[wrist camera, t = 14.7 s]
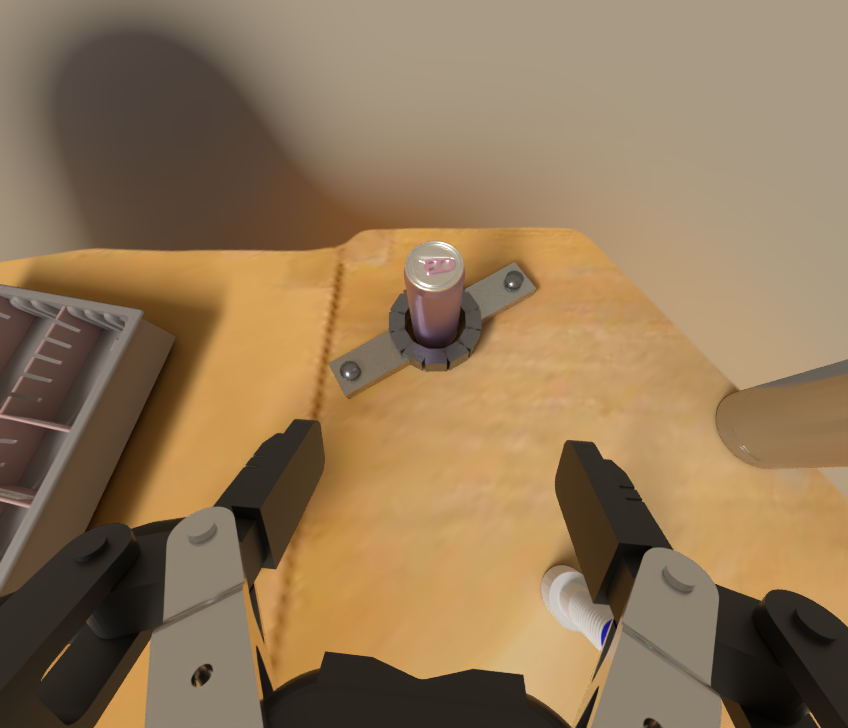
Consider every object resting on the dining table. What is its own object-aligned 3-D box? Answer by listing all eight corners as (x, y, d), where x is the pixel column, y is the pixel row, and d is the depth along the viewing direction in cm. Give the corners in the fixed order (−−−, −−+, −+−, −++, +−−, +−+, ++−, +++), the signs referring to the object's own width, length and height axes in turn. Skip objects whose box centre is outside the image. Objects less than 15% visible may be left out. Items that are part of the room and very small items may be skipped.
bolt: (547, 555, 37) (593, 577, 36) (533, 604, 36) (580, 628, 35) (621, 606, 22) (701, 645, 21) (601, 693, 21) (686, 739, 20)
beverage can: (460, 348, 45) (470, 288, 31) (415, 353, 45) (405, 295, 31) (454, 309, 47) (461, 235, 33) (411, 313, 47) (400, 242, 33)
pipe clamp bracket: (498, 251, 50) (502, 238, 47) (548, 313, 46) (555, 302, 43) (321, 347, 46) (313, 338, 43) (360, 421, 42) (354, 417, 40)
